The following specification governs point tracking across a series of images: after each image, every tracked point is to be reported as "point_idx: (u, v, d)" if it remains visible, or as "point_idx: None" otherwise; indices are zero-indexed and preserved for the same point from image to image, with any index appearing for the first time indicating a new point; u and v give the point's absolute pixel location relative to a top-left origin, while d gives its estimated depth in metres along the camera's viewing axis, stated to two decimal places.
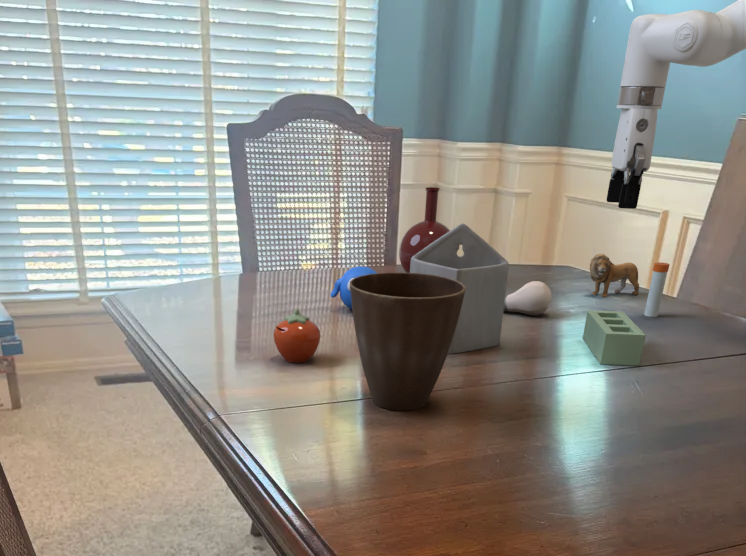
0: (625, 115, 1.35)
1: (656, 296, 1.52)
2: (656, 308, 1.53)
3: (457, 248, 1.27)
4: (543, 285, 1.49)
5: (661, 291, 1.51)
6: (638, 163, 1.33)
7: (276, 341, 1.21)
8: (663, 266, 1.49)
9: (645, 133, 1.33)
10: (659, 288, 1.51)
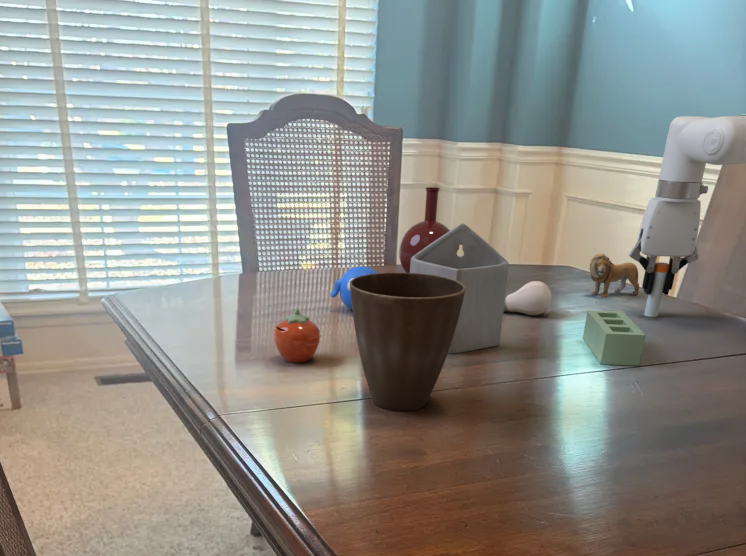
0: (687, 207, 1.42)
1: (656, 296, 1.52)
2: (656, 308, 1.53)
3: (457, 248, 1.27)
4: (543, 285, 1.49)
5: (661, 291, 1.51)
6: (694, 260, 1.49)
7: (276, 341, 1.21)
8: (663, 266, 1.49)
9: None
10: (659, 288, 1.51)
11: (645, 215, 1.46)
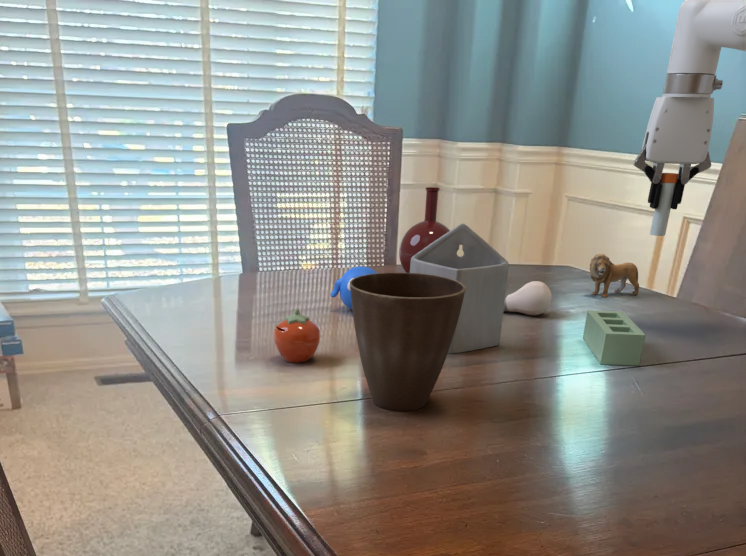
0: (698, 105, 1.26)
1: (663, 211, 1.35)
2: (664, 225, 1.36)
3: (457, 248, 1.27)
4: (543, 285, 1.49)
5: (669, 205, 1.35)
6: (706, 169, 1.32)
7: (276, 341, 1.21)
8: (671, 175, 1.32)
9: None
10: (666, 202, 1.35)
11: (651, 116, 1.30)
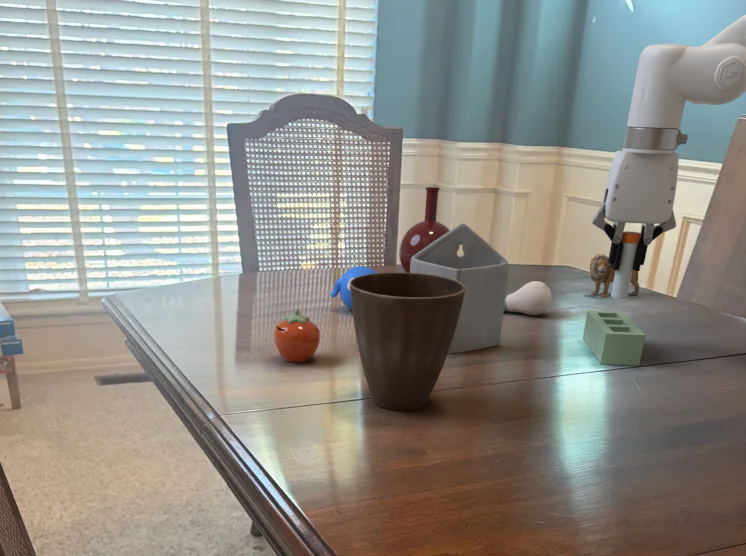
0: (661, 161, 1.15)
1: (625, 273, 1.24)
2: (625, 287, 1.25)
3: (457, 248, 1.27)
4: (543, 285, 1.49)
5: (631, 267, 1.24)
6: (671, 228, 1.21)
7: (276, 341, 1.21)
8: (633, 235, 1.21)
9: None
10: (628, 263, 1.23)
11: (610, 172, 1.18)
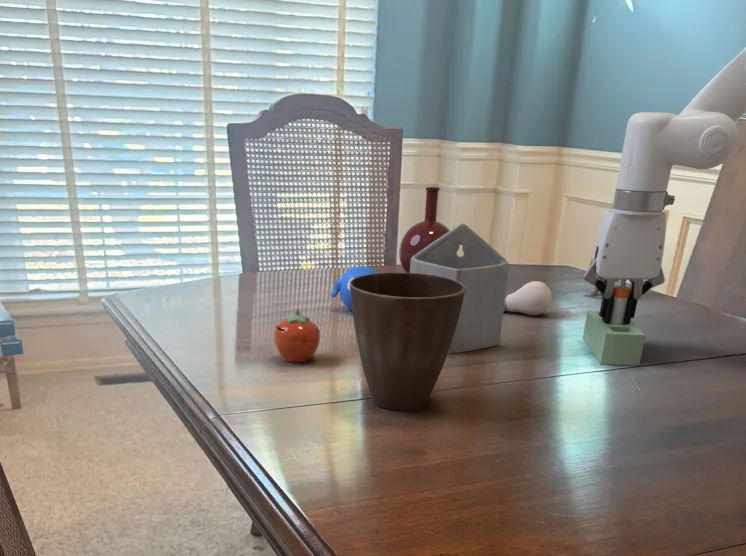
0: (649, 222, 1.19)
1: None
2: None
3: (457, 248, 1.27)
4: (543, 285, 1.49)
5: (621, 320, 1.28)
6: None
7: (276, 341, 1.21)
8: (623, 291, 1.25)
9: None
10: (619, 317, 1.27)
11: (601, 230, 1.23)
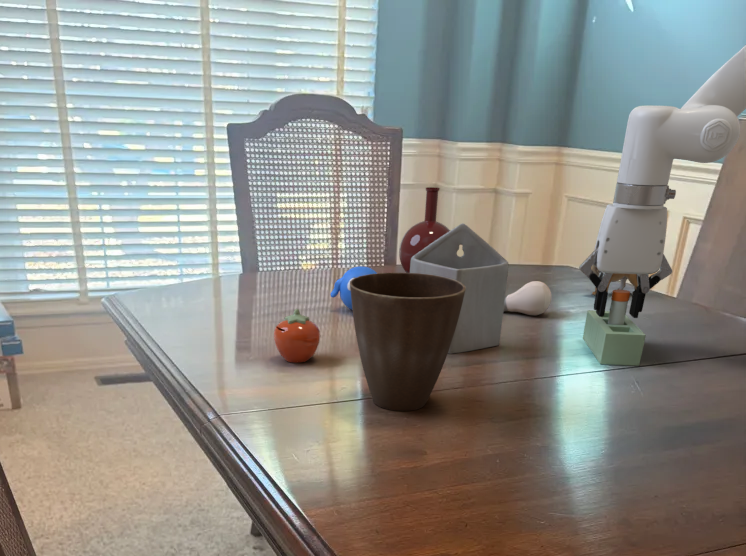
0: (650, 216, 1.18)
1: None
2: None
3: (457, 248, 1.27)
4: (543, 285, 1.49)
5: (621, 323, 1.28)
6: (668, 275, 1.24)
7: (276, 341, 1.21)
8: (622, 294, 1.25)
9: None
10: (619, 320, 1.28)
11: (601, 225, 1.22)
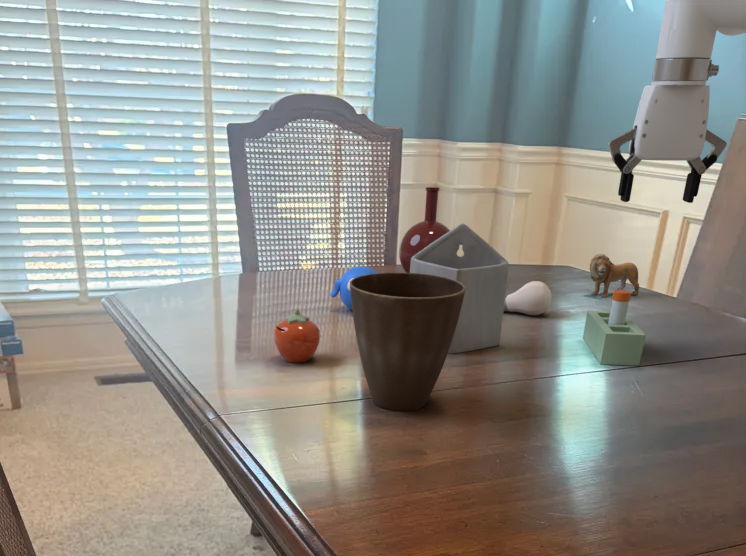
0: (692, 93, 1.12)
1: None
2: None
3: (457, 248, 1.27)
4: (543, 285, 1.49)
5: (622, 323, 1.28)
6: (724, 148, 1.16)
7: (276, 341, 1.21)
8: (624, 294, 1.25)
9: None
10: (619, 320, 1.28)
11: (639, 107, 1.15)
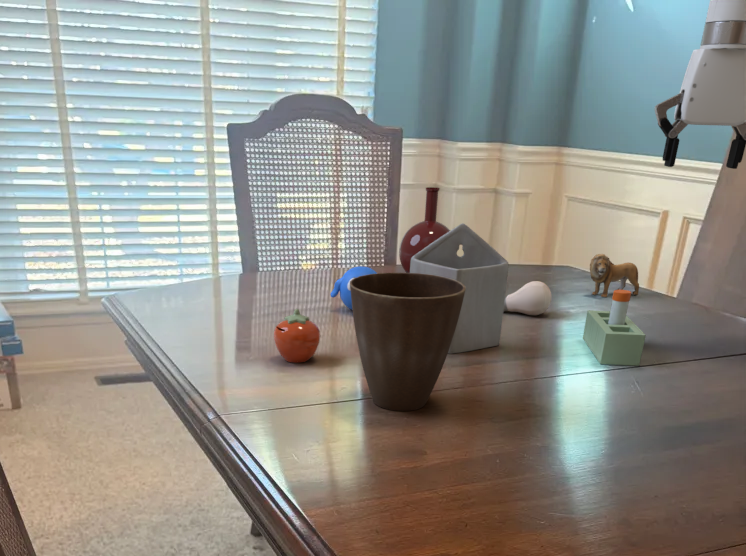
0: (741, 57, 1.12)
1: None
2: None
3: (457, 248, 1.27)
4: (543, 285, 1.49)
5: (622, 323, 1.28)
6: None
7: (276, 341, 1.21)
8: (624, 294, 1.25)
9: None
10: (619, 320, 1.28)
11: (687, 72, 1.16)
